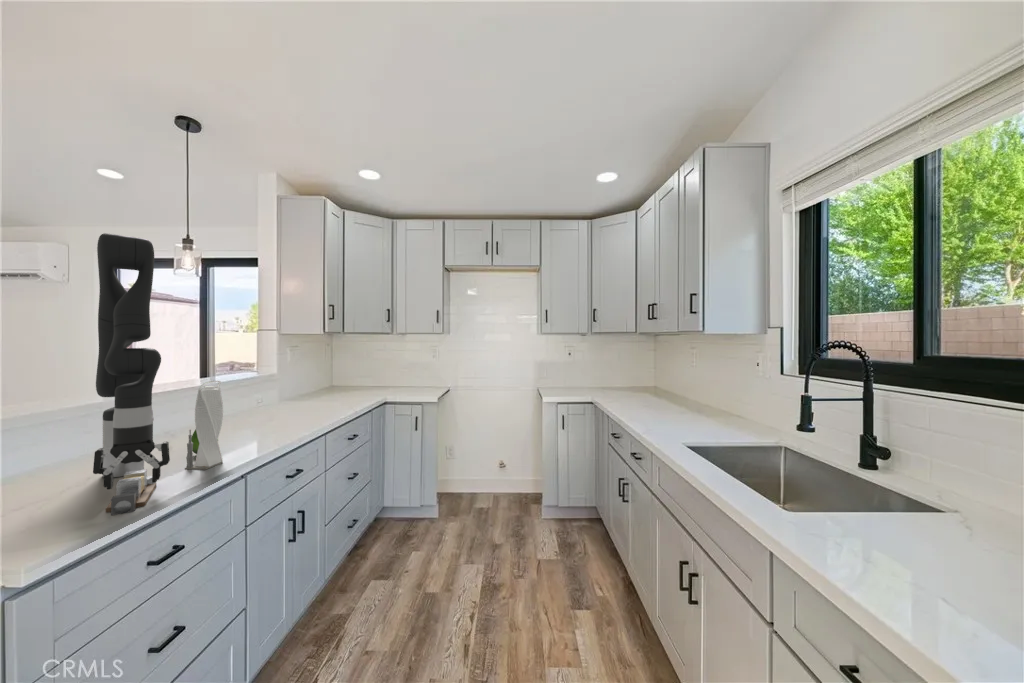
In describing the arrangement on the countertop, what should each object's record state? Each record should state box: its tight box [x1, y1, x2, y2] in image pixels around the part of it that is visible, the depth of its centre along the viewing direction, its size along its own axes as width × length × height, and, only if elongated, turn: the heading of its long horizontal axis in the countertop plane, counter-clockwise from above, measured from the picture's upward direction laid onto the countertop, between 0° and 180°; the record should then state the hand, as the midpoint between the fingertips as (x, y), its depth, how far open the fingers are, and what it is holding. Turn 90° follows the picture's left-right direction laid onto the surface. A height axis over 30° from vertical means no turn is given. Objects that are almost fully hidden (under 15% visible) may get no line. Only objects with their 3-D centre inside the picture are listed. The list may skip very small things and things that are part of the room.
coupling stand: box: [105, 475, 157, 516], centre depth 102 cm, size 21×7×4 cm, turn 35°
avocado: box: [191, 428, 199, 455], centre depth 140 cm, size 8×8×12 cm
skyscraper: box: [184, 380, 224, 471], centre depth 128 cm, size 8×8×28 cm
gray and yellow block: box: [115, 468, 148, 500], centre depth 101 cm, size 4×10×5 cm, turn 35°
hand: (133, 484), depth 102 cm, fingers open, 8 cm apart
